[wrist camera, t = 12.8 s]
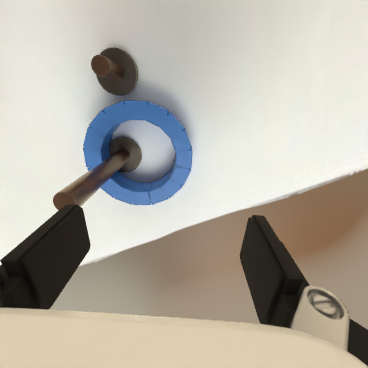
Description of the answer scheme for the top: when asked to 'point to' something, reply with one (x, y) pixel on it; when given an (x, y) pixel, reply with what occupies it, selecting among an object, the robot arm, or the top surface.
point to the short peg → (115, 71)
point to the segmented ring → (118, 183)
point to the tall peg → (101, 173)
